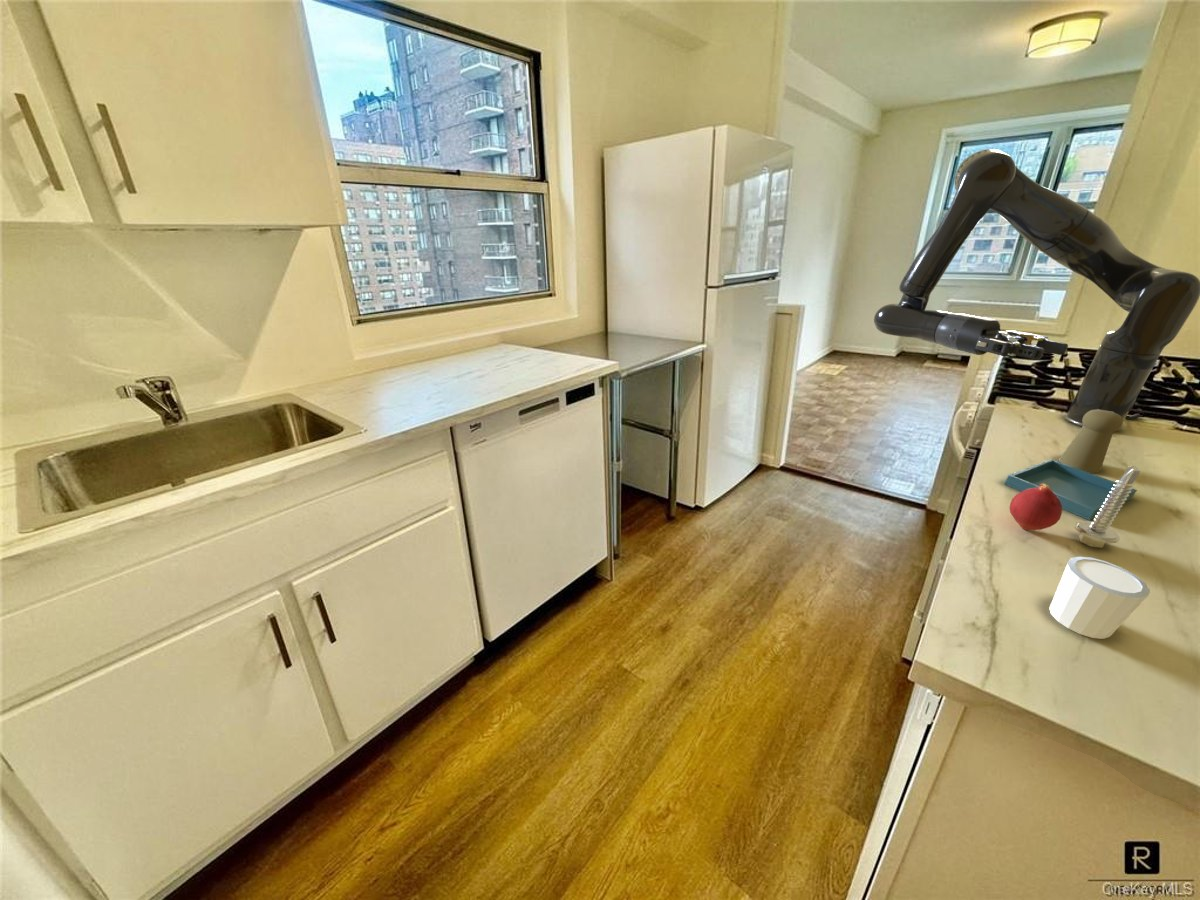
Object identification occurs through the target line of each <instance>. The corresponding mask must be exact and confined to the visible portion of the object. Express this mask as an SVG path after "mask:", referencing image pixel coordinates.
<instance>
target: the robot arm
mask: <svg viewBox="0 0 1200 900" xmlns="http://www.w3.org/2000/svg"><path fill="white" fill-rule="evenodd" d="M954 174H955V175H954V181H953V183H954V188H955V190H956V192H955V194H954V197H953V199H952V201H951V203H950V205H949V207H948V210H947V212H946V214H945V215H944V217H943V219H942V221H941V222H940V223H939V225H938V226H937V228H936V230H935V231H934V232H933V234H932V235H931V236H930V238H928V240H927V242H926V243H924V245H923V246H922V247H921V248H920V250H919V252H918V253H917V255H916V256H915V257H914V259H913V260H912V262H911V264H910V265H909V267H908V269H907V271H906V272H905V274H904V276H903V277H902V279H901V281H900V283H899V287H898V290H899V291H900V293H901V294H902V295H901V298H900V301H898V303H888V304H886V305H883V306H881V307H880V308H879V309H878V310H877V311H876V312H875V314H874V317H873V324H874V326H875V328H876V329H877V330H878V332H881V333H882V334H885V335H889V336H896V337H904V338H913V339H917V340H920V341H921V340H922V341H924V342H928V343H933V344H936V345H940V346H942V347H945V348H948V349H951V350H956V351H960V352H964V353H968V354H972V355H977V356H983V355H985V354H987V353H988V354H989V353H990V354H993V355H998V356H1001V357H1007V356H1010V357H1016V356H1017V357H1021V358H1025V359H1030V360H1034V361H1039V360H1041V359H1042V357H1043V356H1044V354H1045V353H1048V354H1054V355H1058V356H1061V355H1065V353H1066V352H1067V349H1068V348H1069V344H1068V343H1067V342H1061V341H1056V340H1051V339H1048V338H1049V336H1047V335H1040V334H1034V333H1030V332H1024V331H1020V330H1005V331H1002V330H1001V324H1000V322H999V321H998V320H997V319H992V318H989V317H988V318H987V317H982V316H978V315H977V316H976V315H972V314H971V315H970V314H966V313H954V312H948V311H942V310H937V309H927V306H928V303H929V300H930V297H931V294H932V292H933V291H934V290H935V289H936V287H937V285H938V284H939V282H940V280H941V279H942V277H943V276H944V274H945V273H946V272H947V269H948V268H949V266H950V264H951V263H952V262H953V260H954V258H955V257H956V255H957V253H958V252H959V251H960V249H961V247H962V246H963V245H964V243H965V241H966V240H967V239H968V237H969V236H970V235H971V233H972V232H973V230H974V229H975V228H976V227H977V225H978V224H979V223H980V221H981V220H982V219H983V218H984V217H985V216H986V214H987V213H988V212H989V211H990V210H991V211H992V212H994V213H995V214H998V215H999V216H1000V217H1002V218H1003V219H1004V220H1005V221H1006V222H1007V223H1008V224H1009V225H1010V226H1012V228H1013V229H1014V230H1015V231H1016V232H1017V233H1018V234H1019V235H1020V236H1021V237H1023V238H1024V239H1025V240H1026V241H1027V242H1028V243H1029V244H1031V245H1032V247H1034V248H1036V249H1037V250H1039V251H1040V252H1041V253H1043V254H1044V255H1045V256H1047V257H1048V258H1050V259H1052V260H1053V261H1055V262H1056V263H1058V264H1060V265H1061V266H1063V267H1065V268H1067V269H1068V270H1070V271H1071V272H1073V273H1076V274H1077V275H1079V276H1081V277H1084V278H1085V279H1087V280H1089V281H1090V282H1092V283H1093V284H1095V285H1096V287H1098V288H1099V289H1100V290H1102V291H1103V292H1104V293H1105V294H1106V295H1107V296H1108V297H1109V298H1110V299H1111V300H1112V301H1113V302H1114V303H1115V304H1117V305H1118V307H1120V308H1121V309H1122V310H1124V311H1125V312H1127V313H1128V314H1127V315H1126V317H1125V319H1124V321H1123V322H1122V324H1121V325H1120V327H1119V328H1117V329H1115V330H1111V331H1109V332H1107V333H1106V334H1105V335H1104V336H1103V338H1102V340H1101V342H1100V345H1099V346H1098V349H1097V351H1096V353H1095V355H1094V357H1093V360H1092V361H1091V363H1090V366H1089V367H1088V369H1087V371H1086V373H1085V375H1084V377H1083V379H1082V382H1081V384H1080V385H1079V388H1078V390H1077V392H1076V394H1075V395H1074V398H1073V400H1072V402H1071V404H1070V406H1069V408H1068V410H1067V412H1066V413H1065V415H1064V419H1065V420H1066V421H1067V422H1069V423H1071V424H1074V425H1076V426H1079V427H1081V428H1082V427H1083V426H1084V425H1083V423H1082V420H1083V417H1084V415H1085V414H1086V413H1087V412H1089V411H1091V410H1106V411H1110V412H1114V413H1116V414H1119V415H1120V416H1121V417H1122V419H1123V422H1124V421H1125V420H1129V421H1130V420H1136V419H1138V418H1142V417H1144V416H1143V415H1140V414H1139V413H1135V414H1133V415H1129V412H1131V411H1132V409H1133V408H1134V405H1135V404H1136V402H1137V398H1138V396H1139V394H1140V392H1141V391H1142V389H1143V387H1144V386H1145V383H1146V381H1147V379H1148V377H1149V376H1150V374H1151V372H1152V371H1153V368H1154V367H1155V365H1156V363H1157V361H1158V359H1159V358H1160V355H1161V354H1162V352H1163V350H1164V349H1165V347H1167V346H1168V345H1169V344H1170V343H1171V342H1173V341H1174V340H1175V338H1176V337H1177V336H1178V335H1179V333H1180V332H1181V330H1182V329H1183V327H1184V325H1185V323H1186V322H1187V320H1188V319H1189V317H1190V316H1191V314H1192V312H1193V311H1194V309H1195V307H1196V306H1197V304H1198V302H1199V299H1200V279H1199V278H1198V276H1197V275H1194V274H1193V273H1191V272H1186V271H1182V270H1177V269H1171V268H1165V267H1161V266H1158V265H1157V264H1154V263H1152V262H1150V261H1148V260H1146V259H1144V258H1142V257H1140V256H1138V255H1137V254H1135V253H1134V252H1132V251H1130V250H1129V248H1127V247H1126V246H1125V245H1124V244H1123V242H1122V241H1121V240H1120V239H1121V238H1119V236H1118V234H1117V233H1116V232H1115V230H1114V229H1113V228H1112V226H1110V224H1109V223H1107V222H1106V221H1105V220H1104V219H1102V217H1100V216H1099V215H1097V214H1095V213H1093V211H1091V210H1090V209H1088V208H1086V207H1085V206H1083V205H1082V204H1080V203H1079V202H1076V201H1075V200H1072V199H1070V198H1069V197H1066V196H1064V195H1063V194H1060V193H1058V192H1056V191H1054V190H1052V189H1049V188H1047V187H1046V186H1043V185H1041V184H1039V183H1037V182H1036V181H1035V180H1033V179H1032V178H1030V177H1029V176H1028V175H1026V174H1025V173H1024V172H1023V171H1022V170H1020V169H1019V168H1018V167H1017V166H1016V163H1015V161H1014V159H1013V158H1012V156H1010V155H1009V154H1007V153H1006V152H1004V151H1002V150H999V149H995V148H988V149H981V150H979V151H976V152H973V153H971V154H970V155H969V156H967V157H966V158H965V159H964V160H963V161H962V162H961V163H960V164H959V165H958V167H957V170H956V171H955V173H954ZM1032 341H1037V343H1036V344H1035V343H1032ZM1127 414H1128V415H1129V416H1127ZM1121 428H1122V426H1121V427H1120V428H1119V429H1118V430H1117V431H1116V432H1118V431H1120V429H1121Z"/></svg>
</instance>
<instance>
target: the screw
mask: <svg viewBox="0 0 1200 900" xmlns="http://www.w3.org/2000/svg"><path fill="white" fill-rule="evenodd" d="M1140 472H1141V470H1140V469H1139V467H1138V466H1137V465H1129V466H1127V467H1126V469H1125V470H1124V472H1123V473H1122V476H1121V477H1120V479H1119V480H1116V481H1115V482H1116V483H1117V484H1114V486H1115V487H1114V488H1111V489H1112V492H1110V493H1111V494H1110V495H1107V496H1108V499H1105V500H1107V501H1106V502H1103V503H1104V505H1102V506H1101V507H1102V509H1099V510H1100V512H1098V516H1095V518H1093V521H1091V520H1080V521H1077V522H1075V523H1074V526H1073V527H1074V529H1075V530H1076V531H1077V532H1078V533H1080V534H1079V536H1078V538H1079V541H1080V543H1082V544H1085V545H1086V546H1088V547H1091V548H1104V546H1105V544H1116V543H1118V542H1119V541H1120V540H1121V537H1120V535H1119V534H1118V533H1117V531H1115V530H1114V528H1111V525H1113V522H1114V521H1115V519H1116V518H1117V515H1118V514H1119V512H1120V511H1121V508H1123V505H1124V504H1126V502H1124V501H1125V500H1127V498H1126V497H1128V496H1129V494H1128V493H1131V489H1134V487H1133V486H1135V484H1136V483H1135V481H1136V479H1137V477H1138V475H1139V474H1140Z"/></svg>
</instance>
